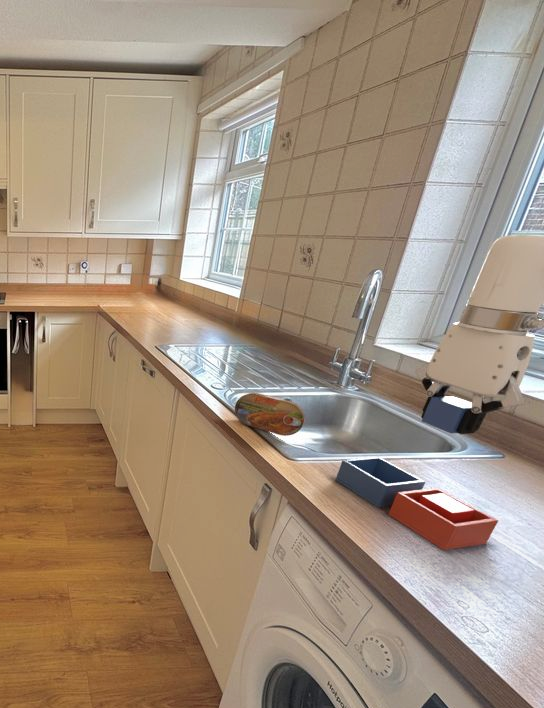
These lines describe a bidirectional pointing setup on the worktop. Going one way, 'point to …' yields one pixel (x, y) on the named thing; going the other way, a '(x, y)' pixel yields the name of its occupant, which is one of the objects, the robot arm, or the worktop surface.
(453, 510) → the red block
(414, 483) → the blue bin
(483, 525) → the red bin
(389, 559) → the worktop surface
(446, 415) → the blue block
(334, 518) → the worktop surface
